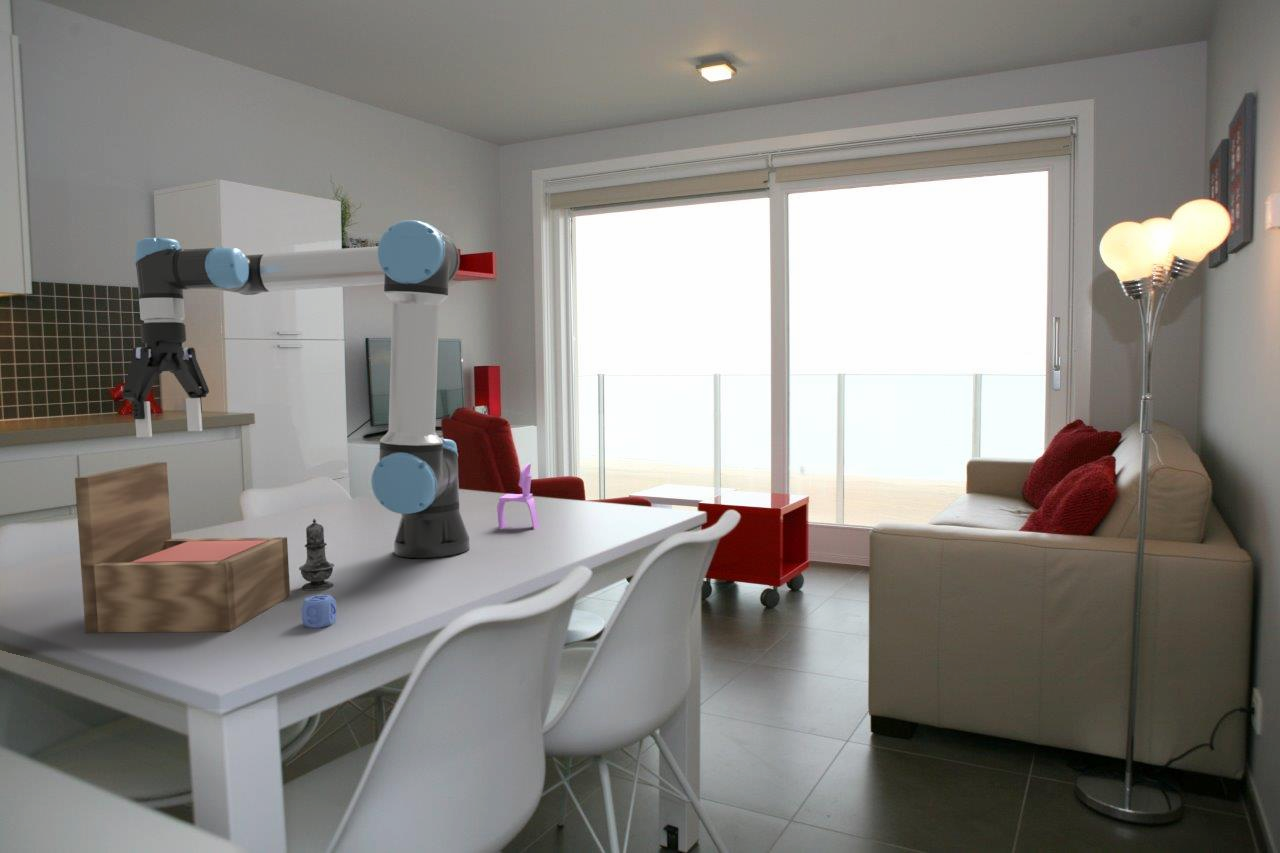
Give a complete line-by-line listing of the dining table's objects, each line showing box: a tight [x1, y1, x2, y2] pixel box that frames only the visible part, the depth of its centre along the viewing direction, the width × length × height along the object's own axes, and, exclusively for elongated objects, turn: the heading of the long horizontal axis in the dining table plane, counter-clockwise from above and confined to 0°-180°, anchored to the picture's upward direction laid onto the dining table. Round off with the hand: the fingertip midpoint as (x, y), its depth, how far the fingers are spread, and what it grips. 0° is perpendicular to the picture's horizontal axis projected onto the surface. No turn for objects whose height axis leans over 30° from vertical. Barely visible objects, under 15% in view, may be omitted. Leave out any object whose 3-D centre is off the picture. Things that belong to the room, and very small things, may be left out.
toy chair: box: [496, 462, 541, 531], centre depth 213 cm, size 8×9×15 cm
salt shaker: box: [298, 518, 335, 591], centre depth 159 cm, size 6×6×12 cm
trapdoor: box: [131, 540, 268, 563], centre depth 143 cm, size 14×15×1 cm
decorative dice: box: [301, 594, 337, 629], centre depth 136 cm, size 4×4×4 cm
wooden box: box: [74, 461, 291, 633], centre depth 143 cm, size 22×20×23 cm
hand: (170, 434), depth 174 cm, fingers open, 13 cm apart
